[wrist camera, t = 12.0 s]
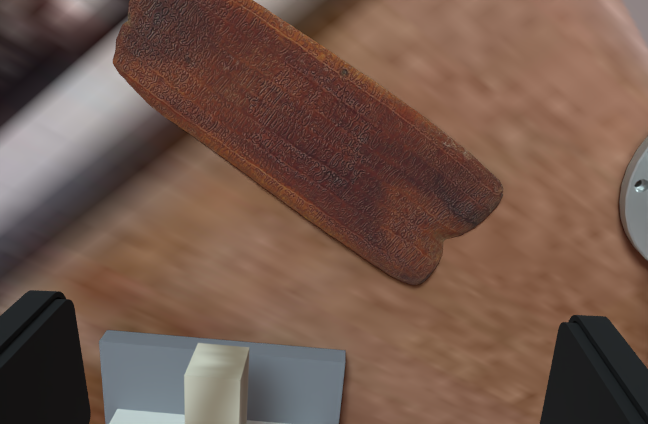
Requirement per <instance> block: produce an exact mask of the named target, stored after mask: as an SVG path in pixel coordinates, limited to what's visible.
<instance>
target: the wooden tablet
mask: <svg viewBox="0 0 648 424" xmlns="http://www.w3.org/2000/svg"><path fill="white" fill-rule="evenodd" d="M113 64H114V66H115V68H116V69H117V71H118V72H119V74H120V75H121V76H122V77H123V78H124V79H125V80H126V81H127V82H128V83H129V85H130V86H131V87H133V88H134V90H135V91H136V92H137V93H138V94H139V95H140V96H141V97H142V98H143V99H144V100H145V101H146V102H147V103H148V104H149V105H150V106H151V107H152V108H154V109H155V110H156V111H158V112H159V113H160V114H161V115H163V116H164V117H165V118H167V119H168V120H170V121H172V122H173V123H175V124H176V125H178V126H179V127H180V128H182V129H183V130H185V131H186V132H188V133H189V134H191V135H192V136H194V137H195V138H196V139H198V140H199V141H200V142H202V143H204V144H205V145H206V146H208V147H209V148H210V149H212V150H213V151H214V152H216V153H217V154H219V155H220V156H221V157H223V158H224V159H226V160H227V161H229V162H230V163H231V164H232V165H234V166H236V167H237V168H238V169H240V170H241V171H242V172H244V173H245V174H247V175H248V176H249V177H251V178H252V179H253V180H254V181H256V182H257V183H258V184H260V185H261V186H262V187H264V188H265V189H266V190H268V191H270V192H271V193H272V194H274V195H275V196H276V197H278V198H279V199H280V200H282V201H283V202H285V203H286V204H287V205H289V206H290V207H291V208H293V209H294V210H296V211H297V212H298V213H300V214H301V215H302V216H304V217H305V218H306V219H308V220H309V221H311V222H312V223H314V224H315V225H317V226H318V227H320V228H321V229H322V230H324V231H325V232H326V233H328V234H329V235H331V236H332V237H334V238H335V239H337V240H339V241H340V242H342V243H343V244H344V245H345V246H348V247H349V248H350V249H352V250H353V251H354V252H356V253H357V254H359V255H360V256H362V257H363V258H365V259H366V260H368V261H369V262H370V263H372V264H373V265H375V266H376V267H378V268H380V269H381V270H382V271H384V272H386V273H387V274H389V275H391V276H393V277H395V278H397V279H399V280H401V281H403V282H405V283H408V284H412V285H416V284H421V283H422V282H424V281H425V280H426V279H427V278H428V277H429V276H430V274H431V273H432V271H433V270H434V269H435V268H436V265H437V264H438V263H439V261H440V258H441V256H442V252H443V241H444V240H446V239H449V238H453V237H457V236H459V235H462V234H464V233H465V232H467V231H469V230H470V229H472V228H474V227H475V226H476V225H478V224H479V223H480V222H481V221H483V220H484V219H485V218H486V217H487V216H488V215H489V214H490V213H491V212H492V211H493V210H494V209H495V208H496V206H497V205H498V204H499V202H500V200H501V198H502V196H503V194H502V192H503V187H502V184H501V183H500V181H499V180H498V179H497V178H496V177H495V176H494V175H493V174H492V173H490V172H489V171H488V169H487V168H485V167H484V166H483V165H482V164H481V163H480V162H479V161H478V160H477V159H476V158H475V157H473V156H472V155H471V154H470V153H469V152H468V151H467V150H465V149H464V148H463V147H462V146H460V145H459V144H458V143H456V142H455V141H454V140H453V139H452V138H450V137H449V136H447V135H446V134H445V133H444V132H443V131H442V130H441V129H439V128H438V127H436V126H435V125H434V124H432V123H431V122H430V121H429V120H427V119H426V118H425V117H423V116H422V115H420V114H419V113H418V112H417V111H415V110H414V109H412V108H411V107H409V106H408V105H407V104H406V103H404V102H403V101H401V100H400V99H398V98H397V97H396V96H394V95H393V94H391V93H390V92H389V91H387V90H386V89H385V88H383V87H382V86H380V85H379V84H378V83H376V82H375V81H373V80H372V79H370V78H369V77H367V76H366V75H364V74H363V73H361V72H359V71H358V70H356V69H355V68H353V67H352V66H351V65H349V64H348V63H346V62H345V61H343V60H342V59H340V58H339V57H337V56H336V55H335V54H333V53H332V52H330V51H329V50H327V49H326V48H324V47H323V46H322V45H320V44H319V43H317V42H315V41H314V40H312V39H311V38H309V37H308V36H306V35H305V34H303V33H302V32H300V31H299V30H297V29H296V28H294V27H293V26H291V25H290V24H288V23H287V22H285V21H283V20H282V19H280V18H279V17H277V16H276V15H274V14H273V13H271V12H270V11H269V10H267V9H266V8H264V7H263V6H261V5H259V4H258V3H256V2H255V1H253V0H130V1H129V10H128V21H127V22H125V23H124V24H123V25H122V27H121V29H120V32H119V34H118V37H117V39H116V50H115V54H114V58H113Z"/></svg>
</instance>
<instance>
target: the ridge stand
mask: <svg viewBox="0 0 648 424" xmlns="http://www.w3.org/2000/svg"><path fill="white" fill-rule="evenodd" d="M198 343H205V344H217V345H228V346H239V347H249V374H248V401H247V424H339V417H340V408H341V398H342V389H343V379H344V370H345V350H334V349H322V348H310V347H299V346H287V345H275V344H264V343H252V342H240V341H229V340H217V339H205V338H194V337H182V336H170V335H159V334H147V333H135V332H124V331H112V330H107V331H106V332H105V334H104V335H103V337H102V338H101V339H100V341H99V347H100V359H101V372H102V384H103V397H104V409H105V422H106V424H185V400H184V375H185V372H186V370H187V368H188V365H189V363H190V360H191V358H192V356H193V353H194V351H195V349H196V346H197V344H198Z"/></svg>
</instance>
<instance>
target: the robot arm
mask: <svg viewBox="0 0 648 424" xmlns="http://www.w3.org/2000/svg"><path fill="white" fill-rule="evenodd" d="M637 181H638V183H637V184H636V182H637ZM635 184H636V185H635ZM619 204H620V216H621V221H622V224H623V227H624V230H625V233H626V235H627V237H628V238H629V240H630V242H631V243H632V245H633V247H634V248H635V249H636V250H637V251H638V252H639V253H640V254H641V255H642V256H643V257H644V258H645V259H646V260H648V136H647V138H646V139H645V140H644V141H643V143H642V144H641V145H640V146H639V148H638V149H637V150H636V152H635V154H634V156H633V158H632V160H631V161H630V163H629V165H628V167H627V170H626V173H625V176H624V179H623V182H622V185H621V193H620V201H619ZM89 421H90V405H89V398H88V392H87V386H86V379H85V373H84V366H83V360H82V353H81V347H80V341H79V334H78V328H77V321H76V315H75V308H74V304H73V302H72V301H71V300H69V299H66V297H65V296H64V294H63V293H61V292H56V291H34V290H33V291H28V292H27V293H25V294H24V295H23V296H22V297H21V298H20V299H19V300H18V301H17V302H15V303H14V304H13V305H12V306H11V307H10V308H9V309H8V310H7V311H5V312H4V313H3V314H2V315H1V316H0V424H89ZM540 424H648V369H647V368H646V366H645V365H644V364H643V362H642V361H641V360H640V359H639V357H638V356H637V355H636V354H635V352H634V351H633V350H632V348H631V347H630V346H629V345H628V343H627V342H626V341H625V339H624V338H623V337H622V336H621V334H620V333H619V332H618V331H617V329H616V328H615V327H614V325H613V324H612V323H611V322H610V320H609V319H608V318H607V317H603V316H583V315H573V316H572V317H571V318H570V320H569V322H563V323H561V324H560V326H559V330H558V334H557V339H556V345H555V350H554V355H553V360H552V365H551V370H550V375H549V380H548V385H547V390H546V396H545V401H544V406H543V411H542V416H541V421H540Z"/></svg>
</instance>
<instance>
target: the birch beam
mask: <svg viewBox="0 0 648 424" xmlns="http://www.w3.org/2000/svg"><path fill="white" fill-rule="evenodd" d="M248 374H249V347H239V346H228V345H217V344H205V343H198V344H197V346H196V349H195V351H194V353H193V356H192V358H191V360H190V363H189V365H188V368H187V370H186V372H185V375H184V400H185V424H247V401H248Z"/></svg>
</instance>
